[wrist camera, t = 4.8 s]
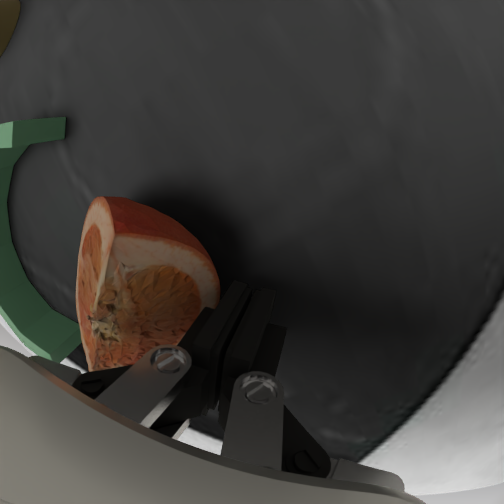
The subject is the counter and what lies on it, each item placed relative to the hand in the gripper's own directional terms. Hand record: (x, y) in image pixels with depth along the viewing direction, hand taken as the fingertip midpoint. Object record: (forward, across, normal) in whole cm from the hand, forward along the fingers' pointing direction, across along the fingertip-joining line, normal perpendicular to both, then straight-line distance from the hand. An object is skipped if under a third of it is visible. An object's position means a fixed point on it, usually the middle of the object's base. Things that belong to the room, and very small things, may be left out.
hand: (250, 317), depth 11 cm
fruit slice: (+2, +5, 0) cm, 5 cm away
